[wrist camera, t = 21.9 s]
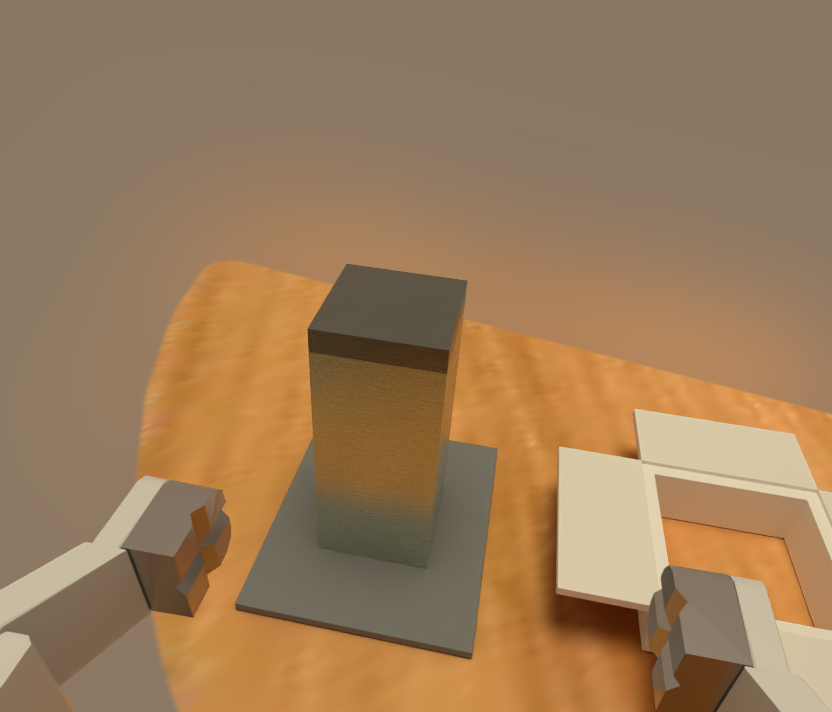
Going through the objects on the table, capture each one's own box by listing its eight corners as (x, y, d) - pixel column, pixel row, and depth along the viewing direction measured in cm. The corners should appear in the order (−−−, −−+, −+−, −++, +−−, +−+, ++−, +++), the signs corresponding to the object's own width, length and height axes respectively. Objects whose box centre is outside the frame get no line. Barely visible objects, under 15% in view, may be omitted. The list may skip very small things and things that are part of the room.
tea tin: (443, 487, 33) (467, 280, 26) (426, 569, 29) (449, 350, 22) (348, 470, 33) (346, 263, 26) (318, 548, 29) (307, 328, 22)
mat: (496, 453, 36) (497, 448, 35) (471, 658, 26) (472, 653, 26) (322, 423, 37) (321, 418, 37) (236, 609, 27) (235, 603, 27)
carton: (849, 487, 35) (875, 446, 33) (1018, 833, 22) (1075, 796, 20) (549, 437, 37) (559, 396, 35) (542, 728, 24) (556, 687, 22)
